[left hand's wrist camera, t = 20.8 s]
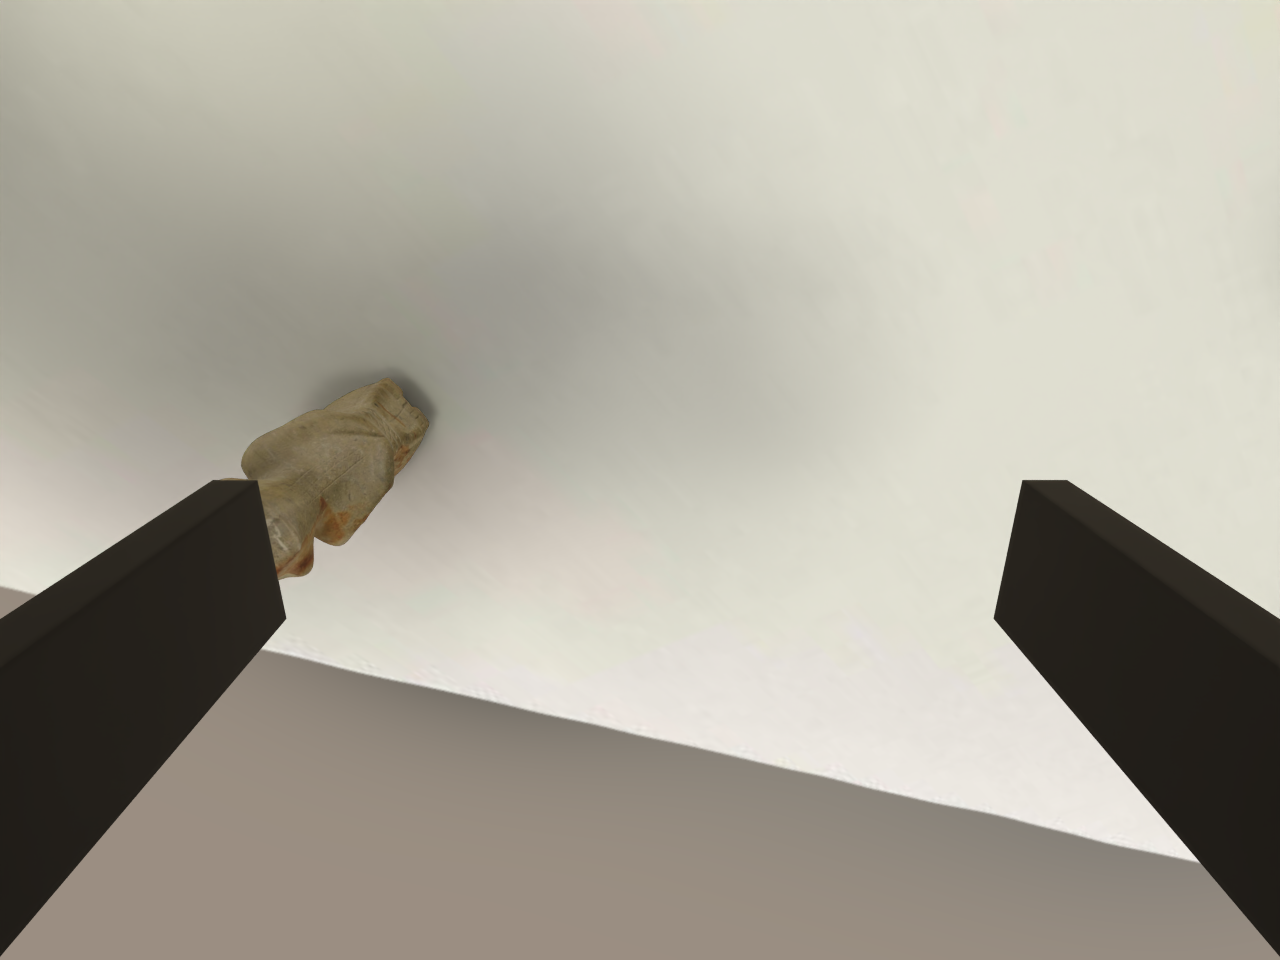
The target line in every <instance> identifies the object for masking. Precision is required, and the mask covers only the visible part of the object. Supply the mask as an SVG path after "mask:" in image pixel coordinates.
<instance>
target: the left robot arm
mask: <svg viewBox="0 0 1280 960" xmlns="http://www.w3.org/2000/svg"><path fill="white" fill-rule="evenodd" d="M285 620H286V614H285V610H284V605H283V600H282V595H281V590H280V586H279V581H278V576H277V571H276V566H275V562H274V557H273V552H272V547H271V542H270V538H269V533H268V528H267V523H266V518H265V514H264V509H263V504H262V499H261V494H260V490H259V485H258V480H212V481H211V482H209V483H208V484H206V485H205V486H203V487H202V488H200V489H199V490H197V491H196V492H194V493H193V494H191V495H189V496H188V497H186V498H185V499H183V500H182V501H180V502H179V503H177V504H176V505H174V506H173V507H171V508H170V509H168V510H167V511H165V512H163V513H162V514H160V515H159V516H157V517H156V518H154V519H153V520H151V521H150V522H148V523H147V524H145V525H144V526H142V527H141V528H139V529H137V530H136V531H134V532H133V533H131V534H130V535H128V536H127V537H125V538H124V539H122V540H121V541H119V542H118V543H116V544H115V545H113V546H111V547H110V548H108V549H107V550H105V551H104V552H102V553H101V554H99V555H98V556H96V557H95V558H93V559H92V560H90V561H88V562H87V563H85V564H84V565H82V566H81V567H79V568H78V569H76V570H75V571H73V572H72V573H70V574H69V575H67V576H66V577H64V578H62V579H61V580H59V581H58V582H56V583H55V584H53V585H52V586H50V587H49V588H47V589H46V590H44V591H43V592H41V593H40V594H38V595H36V596H35V597H34V598H32V599H30V600H29V601H27V602H26V603H24V604H23V605H21V606H20V607H18V608H17V609H15V610H14V611H12V612H11V613H9V614H7V615H6V616H4V617H3V618H1V619H0V956H1V955H2V954H3V953H4V951H5V950H6V949H7V948H8V947H9V945H10V944H11V943H12V942H13V941H14V940H15V938H16V937H17V936H18V935H19V934H20V933H21V931H22V930H23V929H24V928H25V927H26V925H27V924H28V923H29V922H30V921H31V920H32V918H33V917H34V916H35V915H36V914H37V912H38V911H39V910H40V909H41V908H42V907H43V905H44V904H45V903H46V902H47V901H48V899H49V898H50V897H51V896H52V895H53V893H54V892H55V891H56V890H57V889H58V888H59V886H60V885H61V884H62V883H63V882H64V881H65V879H66V878H67V877H68V876H69V875H70V873H71V872H72V871H73V870H74V869H75V868H76V866H77V865H78V864H79V863H80V862H81V860H82V859H83V858H84V857H85V856H86V855H87V853H88V852H89V851H90V850H91V849H92V847H93V846H94V845H95V844H96V843H97V842H98V840H99V839H100V838H101V837H102V836H103V834H104V833H105V832H106V831H107V830H108V829H109V827H110V826H111V825H112V824H113V823H114V821H115V820H116V819H117V818H118V817H119V816H120V814H121V813H122V812H123V811H124V810H125V809H126V807H127V806H128V805H129V804H130V803H131V801H132V800H133V799H134V798H135V797H136V796H137V794H138V793H139V792H140V791H141V790H142V788H143V787H144V786H145V785H146V784H147V782H148V781H149V780H150V779H151V778H152V777H153V775H154V774H155V773H156V772H157V771H158V770H159V768H160V767H161V766H162V765H163V764H164V762H165V761H166V760H167V759H168V758H169V757H170V755H171V754H172V753H173V752H174V751H175V750H176V748H177V747H178V746H179V745H180V744H181V742H182V741H183V740H184V739H185V738H186V737H187V735H188V734H189V733H190V732H191V731H192V729H193V728H194V727H195V726H196V725H197V724H198V722H199V721H200V720H201V719H202V718H203V716H204V715H205V714H206V713H207V712H208V711H209V709H210V708H211V707H212V706H213V705H214V703H215V702H216V701H217V700H218V699H219V698H220V696H221V695H222V694H223V693H224V692H225V690H226V689H227V688H228V687H229V686H230V685H231V683H232V682H233V681H234V680H235V679H236V677H237V676H238V675H239V674H240V673H241V672H242V670H243V669H244V668H245V667H246V666H247V664H248V663H249V662H250V661H251V660H252V659H253V657H254V656H255V655H256V654H257V653H258V652H259V650H260V649H261V648H262V647H263V646H264V644H265V643H266V642H267V641H268V640H269V639H270V637H271V636H272V635H273V634H274V633H275V631H276V630H277V629H278V628H279V627H280V626H281V624H282V623H283V622H284V621H285ZM994 620H995V621H996V622H997V623H998V624H999V626H1000V627H1001V628H1002V629H1003V630H1004V631H1005V633H1006V634H1007V635H1008V636H1009V637H1010V639H1011V640H1012V641H1013V642H1014V643H1015V644H1016V646H1017V647H1018V648H1019V649H1020V650H1021V652H1022V653H1023V654H1024V655H1025V656H1026V657H1027V659H1028V660H1029V661H1030V662H1031V663H1032V664H1033V666H1034V667H1035V668H1036V669H1037V670H1038V672H1039V673H1040V674H1041V675H1042V676H1043V677H1044V679H1045V680H1046V681H1047V682H1048V683H1049V685H1050V686H1051V687H1052V688H1053V689H1054V690H1055V692H1056V693H1057V694H1058V695H1059V696H1060V698H1061V699H1062V700H1063V701H1064V702H1065V703H1066V705H1067V706H1068V707H1069V708H1070V709H1071V711H1072V712H1073V713H1074V714H1075V715H1076V716H1077V718H1078V719H1079V720H1080V721H1081V722H1082V724H1083V725H1084V726H1085V727H1086V728H1087V729H1088V731H1089V732H1090V733H1091V734H1092V735H1093V737H1094V738H1095V739H1096V740H1097V741H1098V742H1099V744H1100V745H1101V746H1102V747H1103V748H1104V750H1105V751H1106V752H1107V753H1108V754H1109V755H1110V757H1111V758H1112V759H1113V760H1114V761H1115V762H1116V764H1117V765H1118V766H1119V767H1120V768H1121V770H1122V771H1123V772H1124V773H1125V774H1126V775H1127V777H1128V778H1129V779H1130V780H1131V781H1132V783H1133V784H1134V785H1135V786H1136V787H1137V788H1138V790H1139V791H1140V792H1141V793H1142V794H1143V796H1144V797H1145V798H1146V799H1147V800H1148V801H1149V803H1150V804H1151V805H1152V806H1153V807H1154V809H1155V810H1156V811H1157V812H1158V813H1159V814H1160V816H1161V817H1162V818H1163V819H1164V820H1165V822H1166V823H1167V824H1168V825H1169V826H1170V827H1171V829H1172V830H1173V831H1174V832H1175V833H1176V835H1177V836H1178V837H1179V838H1180V839H1181V840H1182V842H1183V843H1184V844H1185V845H1186V846H1187V847H1188V849H1189V850H1190V851H1191V852H1192V853H1193V855H1194V856H1195V857H1196V858H1197V859H1198V860H1199V862H1200V863H1201V864H1202V865H1203V866H1204V868H1205V869H1206V870H1207V871H1208V872H1209V873H1210V875H1211V876H1212V877H1213V878H1214V879H1215V881H1216V882H1217V883H1218V884H1219V885H1220V886H1221V888H1222V889H1223V890H1224V891H1225V892H1226V894H1227V895H1228V896H1229V897H1230V898H1231V899H1232V901H1233V902H1234V903H1235V904H1236V905H1237V907H1238V908H1239V909H1240V910H1241V911H1242V912H1243V914H1244V915H1245V916H1246V917H1247V918H1248V920H1249V921H1250V922H1251V923H1252V924H1253V925H1254V927H1255V928H1256V929H1257V930H1258V931H1259V933H1260V934H1261V935H1262V936H1263V937H1264V938H1265V940H1266V941H1267V942H1268V943H1269V944H1270V945H1271V947H1272V948H1273V949H1274V950H1275V951H1276V953H1277V954H1278V955H1279V956H1280V619H1279V618H1277V617H1276V616H1274V615H1273V614H1271V613H1270V612H1268V611H1266V610H1265V609H1263V608H1262V607H1260V606H1259V605H1257V604H1256V603H1254V602H1253V601H1251V600H1250V599H1248V598H1247V597H1245V596H1244V595H1242V594H1240V593H1239V592H1237V591H1236V590H1234V589H1233V588H1231V587H1230V586H1228V585H1227V584H1225V583H1224V582H1222V581H1221V580H1219V579H1218V578H1216V577H1214V576H1213V575H1211V574H1210V573H1208V572H1207V571H1205V570H1204V569H1202V568H1201V567H1199V566H1198V565H1196V564H1195V563H1193V562H1192V561H1190V560H1188V559H1187V558H1185V557H1184V556H1182V555H1181V554H1179V553H1178V552H1176V551H1175V550H1173V549H1172V548H1170V547H1169V546H1167V545H1165V544H1164V543H1162V542H1161V541H1159V540H1158V539H1156V538H1155V537H1153V536H1152V535H1150V534H1149V533H1147V532H1146V531H1144V530H1143V529H1141V528H1139V527H1138V526H1136V525H1135V524H1133V523H1132V522H1130V521H1129V520H1127V519H1126V518H1124V517H1123V516H1121V515H1120V514H1118V513H1117V512H1115V511H1113V510H1112V509H1110V508H1109V507H1107V506H1106V505H1104V504H1103V503H1101V502H1100V501H1098V500H1097V499H1095V498H1094V497H1092V496H1091V495H1089V494H1087V493H1086V492H1084V491H1083V490H1081V489H1080V488H1078V487H1077V486H1075V485H1074V484H1072V483H1071V482H1069V481H1068V480H1022V485H1021V490H1020V494H1019V499H1018V504H1017V509H1016V514H1015V518H1014V523H1013V528H1012V533H1011V538H1010V542H1009V547H1008V552H1007V557H1006V562H1005V566H1004V571H1003V576H1002V581H1001V586H1000V590H999V595H998V600H997V605H996V610H995V614H994Z"/></svg>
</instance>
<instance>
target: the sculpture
mask: <svg viewBox="0 0 1280 960" xmlns="http://www.w3.org/2000/svg"><path fill="white" fill-rule="evenodd" d="M428 426H429V422H428V420H427V419H426V417H425V416H424V414H423V413H422V412H421V411H420V410H419V409H418V408H417V407H412V406H411V405H410V404H409V403H408V402H407V400H406V399H405V398H404V397H403V391H402V390H401V389H400V388H399V387H398V386H397V385H396V384H395V383H394V382H393V381H392V380H391V379H389V378H384V379H382V380H380V381H379V382H377V383H374V384H371V385H367V386H364V387H361V388H359V389H356V390H354V391H352V392H350V393H348V394H346V395H344V396H343V397H341V398H339V399H337V400H336V401H334V402H333V403H331V404H330V405H328V406H327V407H326V408H325V409H324V410H313V411H310V412H307V413H305V414H303V415H301V416H299V417H297V418H295V419H294V420H292V421H290V422H288V423H287V424H285V425H283V426H281V427H279V428H277V429H275V430H273V431H271V432H268V433H266V434H264V435H262V436H261V437H259V438H257V439H256V440H255V441H254V442H252V443H251V445H250V446H249V447H248V448H247V450H246V451H245V453H244V454H243V457H242V462H241V467H242V469H243V471H244V473H245V475H246V476H247V478H248V479H249V480H258V485H259V490H260V494H261V499H262V504H263V509H264V514H265V518H266V523H267V528H268V533H269V538H270V542H271V547H272V552H273V557H274V562H275V566H276V571H277V576H278V580H281V579H284V578H288V577H301V576H304V575H307V574H308V573H309V572H310V571H311V570H312V567H313V562H314V549H313V541H314V537H316V538H318V539H319V540H321V541H323V542H325V543H327V544H330V545H334V546H341V545H343V544H345V543H346V542H347V541H348V540H349V539H350V538H351V536H352V535H353V534H354V532H355V531H356V530H357V529H358V528H359V527H360V525H361V524H363V523H364V522H365V520H366V519H367V517H368V516H369V514H370V513H371V512H372V510H373V509H374V508H375V506H376V505H377V504H378V503H379V502H380V500H381V499H382V498H383V496H384V495H385V494H386V493H387V492H388V491H389V490H390V489H391V488H392V486H393V483H394V476H395V475H396V474H398V473H399V472H400V471H401V470H402V469H403V468H404V466H405V465H406V464H407V462H408V461H409V460H410V459H411V457H412V456H413V454H414V452H415V451H416V449H417V448H418V446H419V445H420V443H421V441H422V439H423V437H424V434H425V431H426V430H427V428H428ZM248 479H236V478H225V479H221V480H248Z"/></svg>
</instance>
